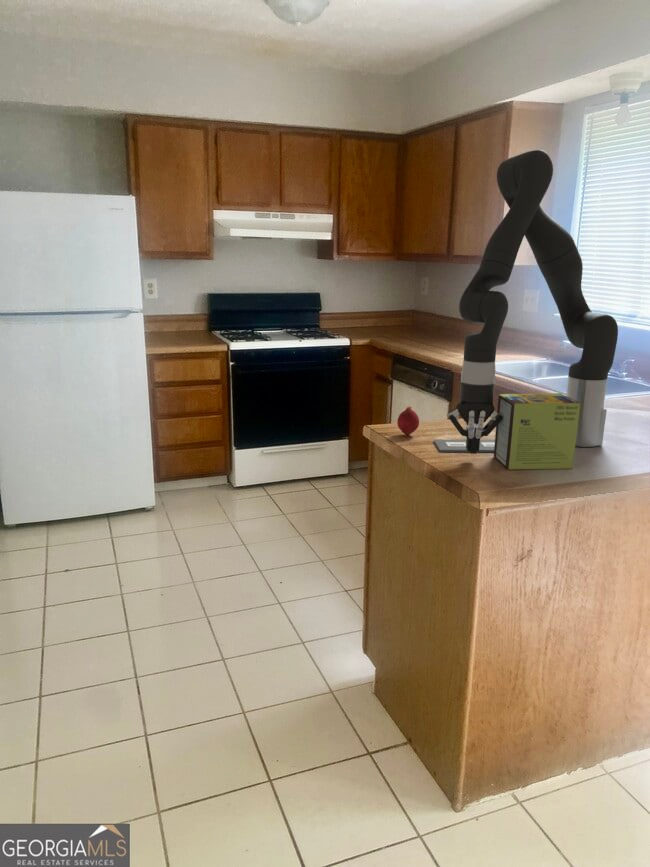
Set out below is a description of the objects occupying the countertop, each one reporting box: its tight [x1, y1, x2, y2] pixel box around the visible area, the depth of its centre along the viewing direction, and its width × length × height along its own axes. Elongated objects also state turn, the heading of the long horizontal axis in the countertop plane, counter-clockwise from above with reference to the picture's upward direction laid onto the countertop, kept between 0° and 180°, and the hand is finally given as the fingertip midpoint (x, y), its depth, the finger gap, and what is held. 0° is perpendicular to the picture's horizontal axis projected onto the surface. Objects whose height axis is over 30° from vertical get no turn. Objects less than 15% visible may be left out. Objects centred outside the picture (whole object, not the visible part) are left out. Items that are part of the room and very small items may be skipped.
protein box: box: [493, 392, 580, 470], centre depth 148 cm, size 10×15×16 cm
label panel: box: [433, 438, 495, 453], centre depth 162 cm, size 19×9×1 cm, turn 90°
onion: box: [396, 405, 420, 436], centre depth 171 cm, size 6×6×8 cm
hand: (472, 452), depth 150 cm, fingers closed
